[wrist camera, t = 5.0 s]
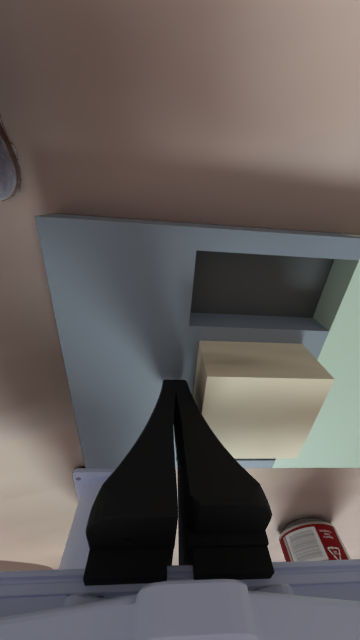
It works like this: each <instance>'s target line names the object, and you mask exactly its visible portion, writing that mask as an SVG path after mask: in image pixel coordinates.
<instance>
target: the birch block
mask: <svg viewBox="0 0 360 640" xmlns="http://www.w3.org/2000/svg"><path fill="white" fill-rule="evenodd" d="M334 380H335V379H334V378H333V377H332V376H331V375H330V373H329V372H328V371H327V370H326V369H325V368H324V367H323V366H322V365H321V364H320V363H319V362H318V360H317V359H316V358H315V357H314V356H313V355H312V354H311V353H310V352H309V351H308V350H307V349H306V347H305V346H304V345H303V344H294V343H262V342H229V341H199V349H198V358H197V366H196V374H195V383H194V391H193V398H194V400H195V402H196V404H197V406H198V408H199V410H200V412H201V414H202V415H203V417H204V419H205V420H206V422H207V424H208V425H209V427H210V428H211V430H212V431H213V433H214V434H215V435H216V437H217V438H218V439H219V441H220V442H221V443H222V445H223V446H224V447H225V448H226V449H227V451H228V452H229V453H230V454H231V455H232V456H233V458H234V459H294V458H298V455H299V453H300V451H301V449H302V447H303V445H304V443H305V441H306V439H307V437H308V435H309V432H310V430H311V428H312V426H313V424H314V422H315V420H316V418H317V416H318V414H319V411H320V409H321V407H322V405H323V403H324V401H325V399H326V397H327V395H328V393H329V390H330V388H331V386H332V384H333V382H334Z"/></svg>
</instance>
